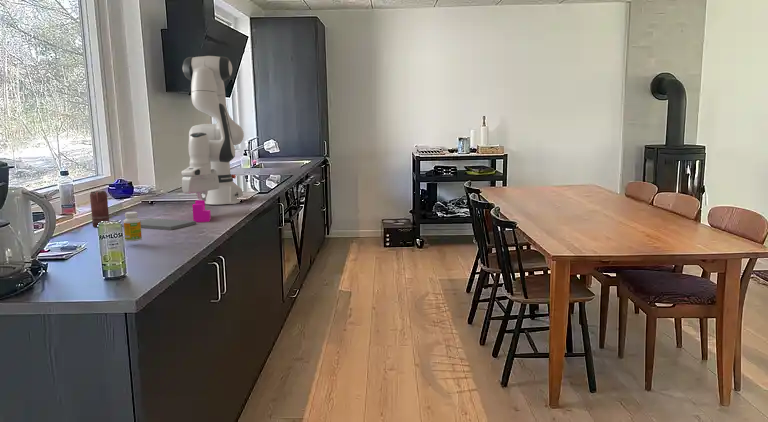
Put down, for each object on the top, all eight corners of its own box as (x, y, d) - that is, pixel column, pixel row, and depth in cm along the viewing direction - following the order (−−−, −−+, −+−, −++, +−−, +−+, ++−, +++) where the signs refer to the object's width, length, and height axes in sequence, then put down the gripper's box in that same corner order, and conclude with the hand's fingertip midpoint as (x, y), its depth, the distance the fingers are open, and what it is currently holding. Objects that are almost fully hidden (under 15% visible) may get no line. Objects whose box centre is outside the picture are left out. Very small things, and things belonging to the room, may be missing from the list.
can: (92, 228, 227) (89, 192, 225) (92, 225, 232) (89, 191, 230) (109, 226, 229) (106, 191, 227) (109, 224, 235) (106, 190, 233)
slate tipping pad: (150, 221, 242) (150, 218, 241) (195, 224, 232) (195, 221, 232) (123, 226, 229) (123, 223, 229) (170, 229, 220) (170, 226, 219)
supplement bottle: (131, 242, 197) (129, 214, 196) (121, 240, 200) (119, 213, 198) (145, 239, 201) (143, 212, 200) (135, 238, 204) (133, 211, 203)
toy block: (209, 222, 238) (208, 204, 237) (193, 223, 237) (192, 204, 236) (211, 216, 253) (210, 199, 251) (196, 217, 251) (195, 200, 250)
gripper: (210, 168, 262) (212, 198, 264) (178, 172, 243) (180, 204, 245) (221, 168, 259) (223, 199, 261) (190, 172, 241) (192, 205, 243)
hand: (202, 201), depth 253 cm, fingers closed
